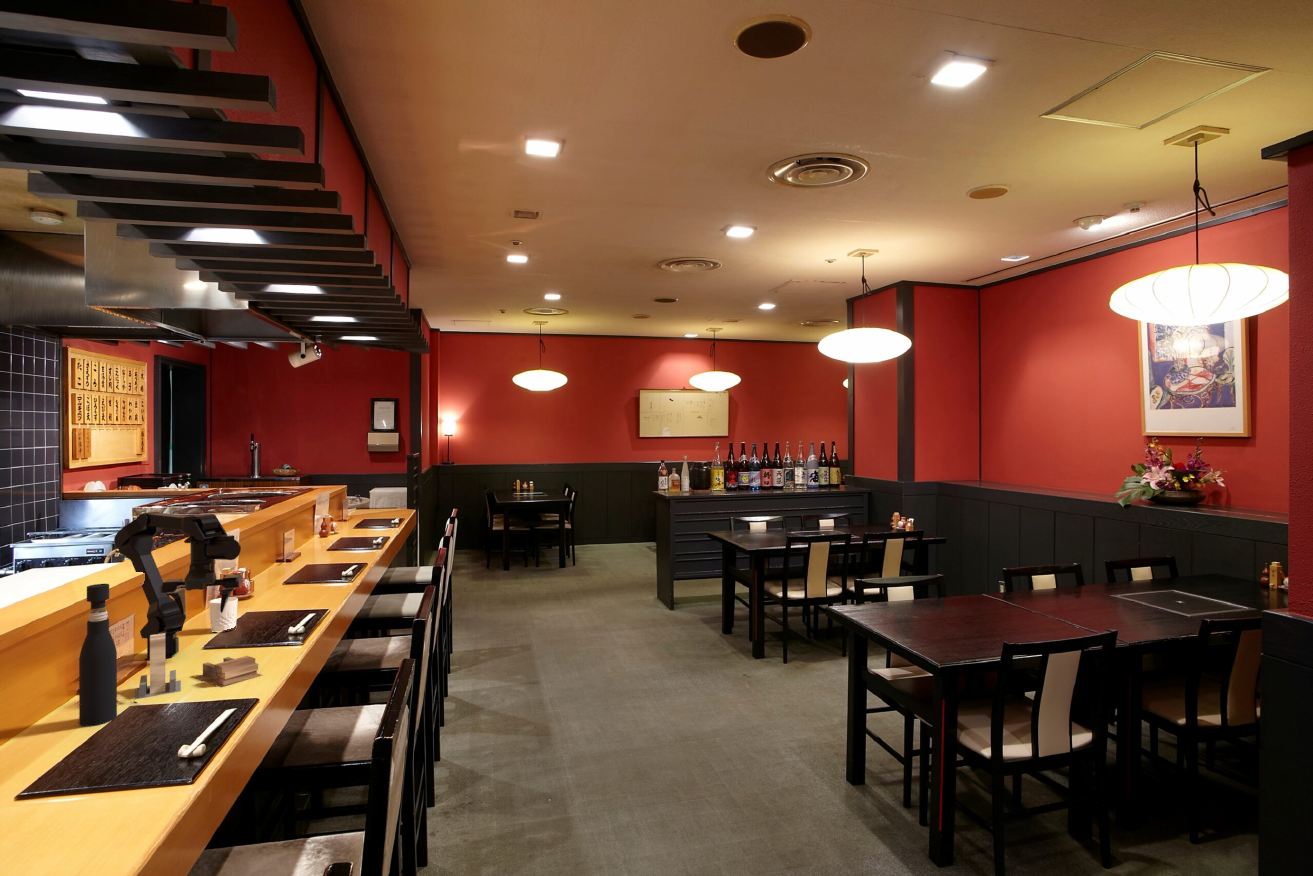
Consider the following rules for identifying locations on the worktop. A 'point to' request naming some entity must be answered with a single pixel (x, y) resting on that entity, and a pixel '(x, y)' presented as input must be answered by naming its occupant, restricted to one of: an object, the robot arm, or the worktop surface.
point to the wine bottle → (97, 664)
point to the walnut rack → (210, 674)
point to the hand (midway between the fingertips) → (202, 613)
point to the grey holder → (169, 688)
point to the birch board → (157, 663)
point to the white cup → (223, 614)
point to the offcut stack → (235, 670)
